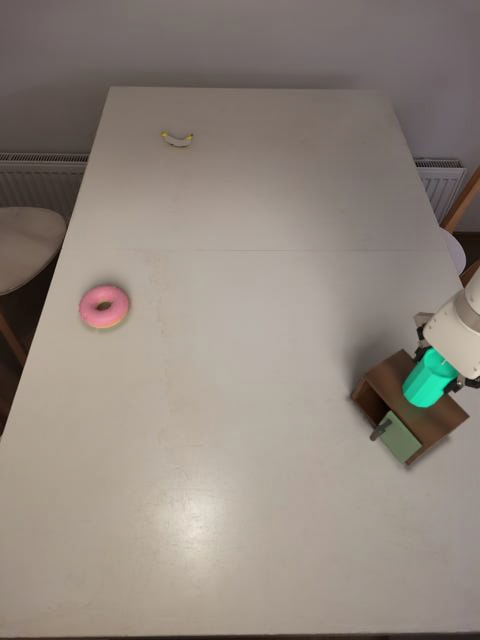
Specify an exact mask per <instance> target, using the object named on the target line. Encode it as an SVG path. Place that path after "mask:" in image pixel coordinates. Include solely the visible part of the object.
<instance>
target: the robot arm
mask: <svg viewBox="0 0 480 640" xmlns="http://www.w3.org/2000/svg"><path fill="white" fill-rule="evenodd" d="M413 320H414V324H415V327H416V329H415V331H416V334H417V338H418V341H417V346H418V347H417V348H416V350H415V351H414V353H413V354H415V355H414V357H413V360H412V361H413V362H414V363H418V362H419V361H420V360H421V358H422V357H423V356H424V354H425V353H426V351H427V350H429V349H431V348H434V349H435V350H436V351H437V352H438V353H440V354H441V355H442V356H443V357H444V358H445V359H446V360H447V361H448V362H449V363H450V364H451V365H452V366H453V367H454V368H455V369H456V370H457V371H458V377H457V378H455V379H454V380H453V381H451V383H450V384H449V385H448V386H447V387H446V388H445V389H444V390H443V393H444V394H445V395H446V394H450V393H451V392H453V393H454V394H456V393H458V392H459V391H461V390H462V389H463V388H464V387H468V388H472V389H476V390H479V389H480V266H479V267H478V268H477V270H476V271H475V272H474V274H473V275H472V277H470V280H469V281H468V283H466V285H465V287H464V288H462V289H460V290H458V291H457V292H455V293H454V294H453V295H452V296H450V298H448V299H447V300H446V301H445V302H444V303H443V304H442V305H441V307H439V308H438V310H436V312H425V311H419V312H417V313H416V314H414V315H413Z"/></svg>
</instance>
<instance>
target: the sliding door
mask: <svg viewBox="0 0 480 640" xmlns="http://www.w3.org/2000/svg"><path fill="white" fill-rule="evenodd" d="M368 438H369V440H370V441H371V442H375V441H376V440H377V439H380V440H381V441H382V443H384V445H385V446H386V447H387V448H388V449H389V451H390V452H391V453H392V454H393V456H394V457H395V458H396V459H397V460H398V462H399V463H400V464H404V463H405V461H406V460H407V459H408V458H409V457H410V456H411V455H413V454H414V453H415V452H416V451H417V450H418V449H419V448H420V447H421V446H422V445H421V444H420V443H419V442H418V440H417V439H416V438H415V437H414V436H413V435H412V434H411V432H410V431H409V430H408V429H407V428H406V427H405V426H404V425H403V423H402V422H401V421H400V420H399V419H398V418H397V417H396V416H395V414H394V413H393V412H392V411H391V410H390V411H389V412H388V413H387V414H386V416H385V417H384V418H383V420H382V421H381V422H380V424H379V425H378V426H377V427H376V428H374V430H373V431H372V433H371V434H369V437H368Z"/></svg>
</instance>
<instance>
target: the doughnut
mask: <svg viewBox="0 0 480 640" xmlns="http://www.w3.org/2000/svg"><path fill="white" fill-rule="evenodd" d="M103 303H110V306H109V307H107V309H105V308H104V309H103V310H99V309H98V306H100V305H102V304H103ZM77 305H78V313H79V316H80V318H81V320H82V321H83V322H84V323H85V324H87V325H88V326H90V327H93V328H97V329H107V328H110V327H114V326H115V325H117V324H119V323H120V322H121V321H122V320H123V319H125V317H126V316H127V314H128V312H129V305H130V301H129V297H128V296H127V294H126V292H124V291H123V289H121V288H119V286H115V285H109V284H108V285H104V284H102V285H99V286H95V287H93V288H91V289H89V290H88V291H86V293H84V294H83V296H81V299H80V301H79V304H77Z"/></svg>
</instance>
